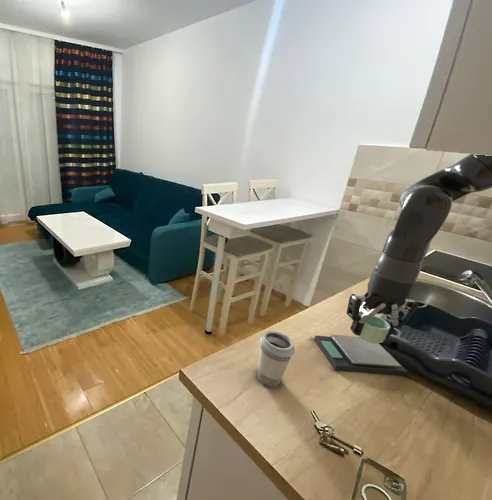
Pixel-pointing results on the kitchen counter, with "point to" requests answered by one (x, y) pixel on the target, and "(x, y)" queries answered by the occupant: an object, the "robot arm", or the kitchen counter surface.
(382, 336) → the bowl
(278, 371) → the cup
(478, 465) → the kitchen counter surface
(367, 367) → the scale
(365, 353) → the scale pan
